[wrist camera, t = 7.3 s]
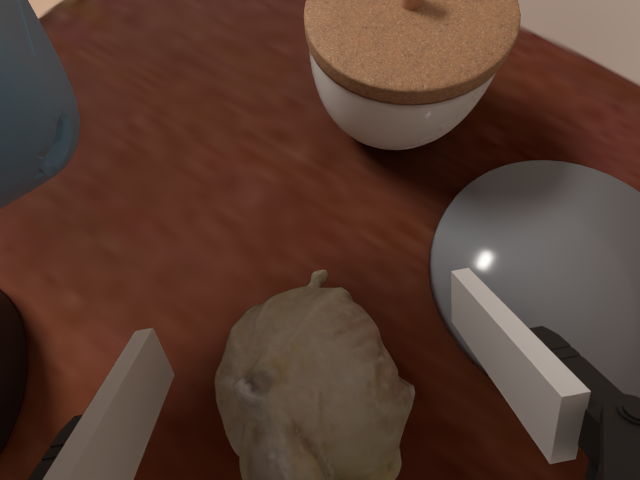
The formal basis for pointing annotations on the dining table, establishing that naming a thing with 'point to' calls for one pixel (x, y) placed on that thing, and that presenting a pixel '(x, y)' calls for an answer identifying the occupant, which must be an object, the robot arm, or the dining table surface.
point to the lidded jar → (406, 63)
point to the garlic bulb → (312, 390)
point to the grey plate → (551, 258)
